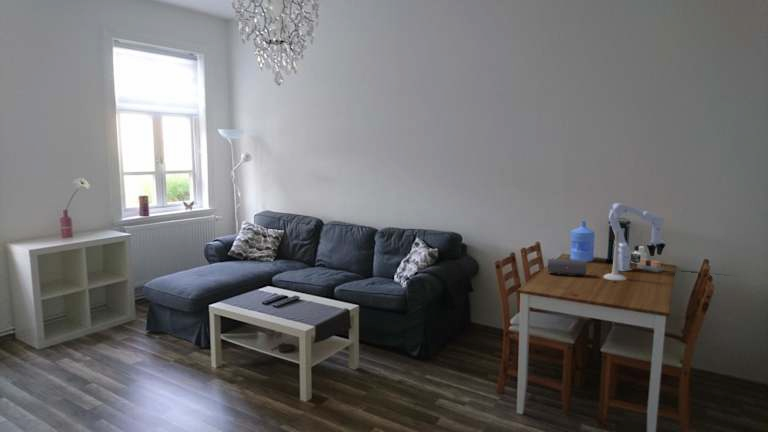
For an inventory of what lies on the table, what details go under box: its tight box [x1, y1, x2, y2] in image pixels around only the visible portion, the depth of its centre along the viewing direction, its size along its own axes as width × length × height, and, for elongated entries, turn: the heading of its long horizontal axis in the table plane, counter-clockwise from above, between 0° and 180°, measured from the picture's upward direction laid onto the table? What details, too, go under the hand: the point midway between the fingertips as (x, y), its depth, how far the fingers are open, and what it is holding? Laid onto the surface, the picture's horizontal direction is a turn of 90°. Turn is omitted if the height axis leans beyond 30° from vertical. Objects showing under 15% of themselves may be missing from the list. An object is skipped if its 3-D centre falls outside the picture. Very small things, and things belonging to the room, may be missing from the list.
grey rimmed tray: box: [636, 258, 665, 273], centre depth 324 cm, size 14×7×6 cm, turn 29°
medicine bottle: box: [630, 245, 648, 265], centre depth 343 cm, size 7×7×12 cm
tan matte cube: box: [650, 260, 662, 268], centre depth 321 cm, size 5×4×5 cm
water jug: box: [569, 220, 596, 263], centre depth 353 cm, size 16×16×28 cm
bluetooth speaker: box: [547, 258, 587, 276], centre depth 312 cm, size 23×9×10 cm, turn 71°
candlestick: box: [603, 231, 627, 282], centre depth 301 cm, size 13×13×30 cm
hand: (655, 255), depth 320 cm, fingers open, 7 cm apart
